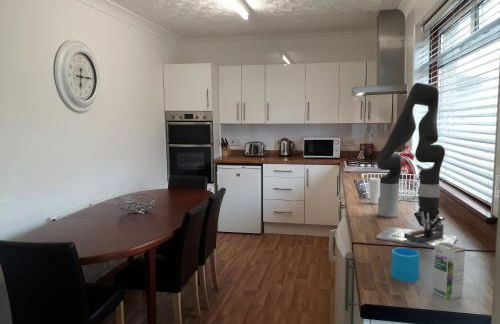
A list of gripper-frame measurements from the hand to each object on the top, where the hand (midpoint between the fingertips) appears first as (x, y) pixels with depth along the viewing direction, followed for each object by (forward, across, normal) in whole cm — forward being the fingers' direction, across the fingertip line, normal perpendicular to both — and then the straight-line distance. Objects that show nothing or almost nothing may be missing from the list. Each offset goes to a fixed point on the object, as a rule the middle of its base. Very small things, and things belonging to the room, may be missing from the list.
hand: (428, 237), depth 153 cm
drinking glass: (+1, +68, -36) cm, 77 cm away
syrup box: (+4, -33, +32) cm, 47 cm away
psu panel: (+2, +8, -2) cm, 8 cm away
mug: (+4, -17, +32) cm, 37 cm away
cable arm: (+1, +5, -4) cm, 6 cm away
